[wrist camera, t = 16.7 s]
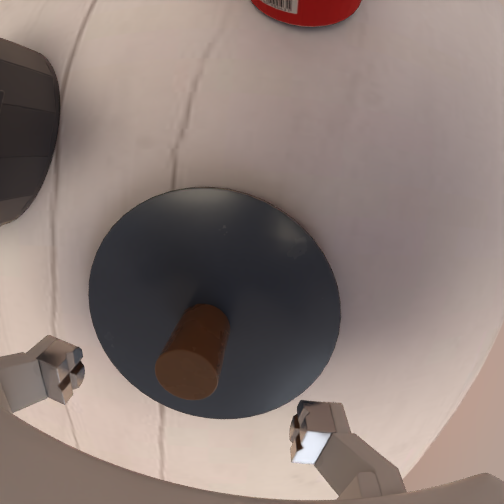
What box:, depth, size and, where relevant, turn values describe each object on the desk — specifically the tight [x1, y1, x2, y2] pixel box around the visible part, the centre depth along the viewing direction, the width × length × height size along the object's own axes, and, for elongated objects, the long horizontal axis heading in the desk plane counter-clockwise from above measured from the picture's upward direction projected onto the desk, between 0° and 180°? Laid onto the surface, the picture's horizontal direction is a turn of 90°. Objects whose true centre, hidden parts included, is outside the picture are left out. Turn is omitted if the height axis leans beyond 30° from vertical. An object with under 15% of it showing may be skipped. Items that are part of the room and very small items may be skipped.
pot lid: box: [88, 187, 341, 419], centre depth 13 cm, size 13×13×5 cm
